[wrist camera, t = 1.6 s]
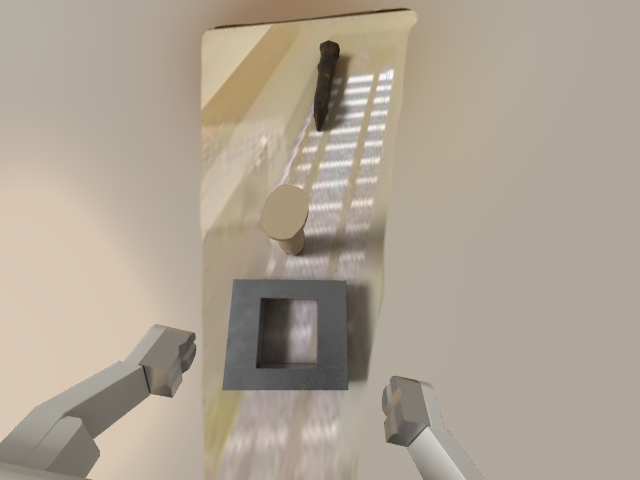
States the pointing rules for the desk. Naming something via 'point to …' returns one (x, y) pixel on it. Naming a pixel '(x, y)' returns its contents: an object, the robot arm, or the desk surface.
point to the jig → (248, 337)
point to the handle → (286, 217)
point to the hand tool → (325, 80)
